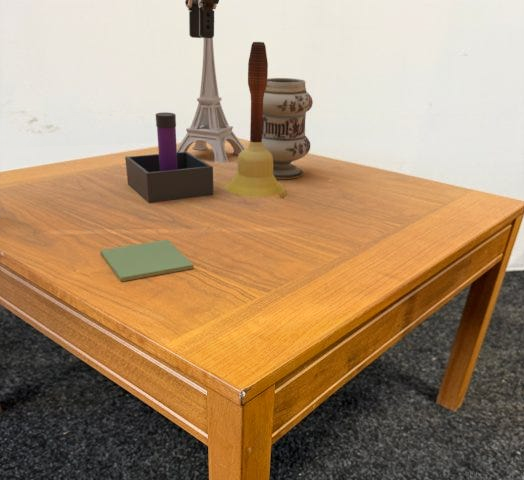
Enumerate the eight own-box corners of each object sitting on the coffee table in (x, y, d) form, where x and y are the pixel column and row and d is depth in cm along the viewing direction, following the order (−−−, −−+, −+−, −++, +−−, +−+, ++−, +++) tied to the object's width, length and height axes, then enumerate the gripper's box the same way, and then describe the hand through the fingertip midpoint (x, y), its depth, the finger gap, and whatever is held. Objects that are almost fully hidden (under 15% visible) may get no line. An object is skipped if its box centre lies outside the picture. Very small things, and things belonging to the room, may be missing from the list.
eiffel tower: (197, 146, 135) (193, 2, 118) (247, 153, 131) (250, 4, 115) (170, 158, 124) (162, 1, 108) (224, 165, 120) (223, 4, 104)
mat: (121, 282, 70) (120, 277, 70) (100, 253, 78) (100, 249, 77) (193, 268, 74) (193, 264, 74) (167, 243, 82) (167, 239, 81)
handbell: (239, 179, 112) (240, 38, 98) (295, 187, 108) (305, 42, 94) (211, 195, 102) (208, 41, 89) (272, 205, 98) (279, 46, 85)
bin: (149, 207, 95) (146, 173, 92) (128, 188, 104) (125, 156, 101) (213, 199, 100) (213, 166, 97) (188, 181, 109) (187, 151, 106)
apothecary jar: (265, 163, 123) (268, 74, 114) (315, 170, 119) (323, 79, 110) (242, 175, 114) (243, 80, 104) (296, 184, 110) (302, 85, 100)
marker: (160, 192, 100) (155, 115, 93) (160, 186, 103) (155, 112, 96) (179, 192, 100) (175, 116, 93) (179, 186, 103) (175, 112, 96)
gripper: (168, -83, 86) (171, 36, 93) (184, -103, 74) (185, 36, 82) (215, -77, 88) (214, 39, 96) (238, -95, 76) (234, 39, 84)
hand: (201, 37), depth 89 cm, fingers open, 8 cm apart
